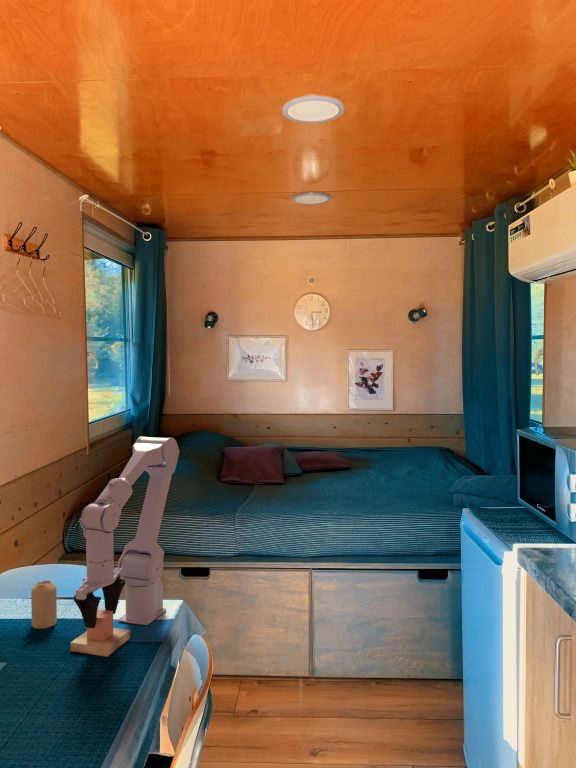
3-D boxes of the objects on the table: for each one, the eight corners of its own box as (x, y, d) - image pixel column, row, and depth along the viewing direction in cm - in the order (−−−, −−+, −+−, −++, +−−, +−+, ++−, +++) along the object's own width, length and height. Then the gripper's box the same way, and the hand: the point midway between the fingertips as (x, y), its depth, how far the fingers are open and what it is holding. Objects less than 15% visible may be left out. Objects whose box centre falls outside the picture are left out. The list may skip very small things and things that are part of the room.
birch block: (95, 635, 138) (95, 625, 138) (130, 641, 135) (130, 630, 135) (70, 653, 129) (70, 642, 129) (107, 659, 127) (107, 647, 127)
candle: (47, 630, 140) (47, 587, 139) (26, 628, 141) (26, 585, 140) (61, 620, 145) (61, 579, 145) (40, 618, 146) (40, 577, 146)
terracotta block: (97, 631, 135) (97, 609, 134) (113, 633, 133) (113, 611, 133) (87, 639, 131) (86, 616, 131) (103, 641, 130) (102, 618, 130)
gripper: (103, 547, 140) (104, 605, 140) (63, 567, 126) (63, 631, 127) (130, 550, 138) (130, 608, 138) (92, 570, 124) (92, 635, 124)
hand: (100, 620), depth 132 cm, fingers open, 7 cm apart
